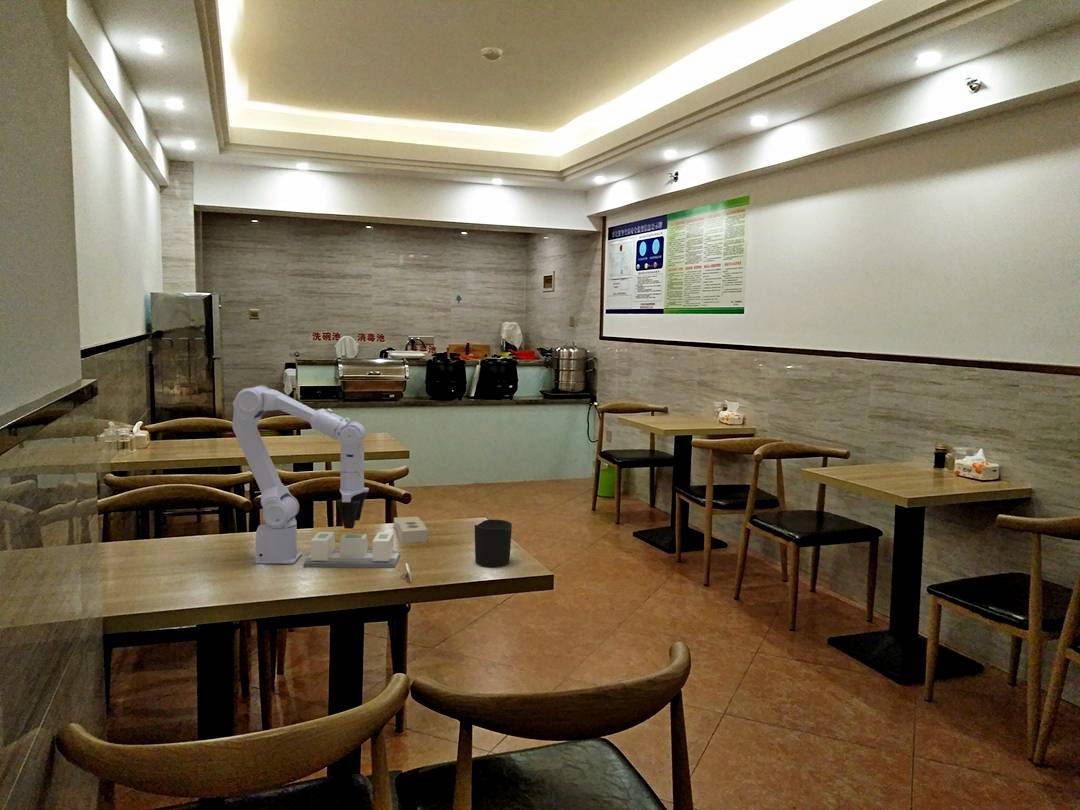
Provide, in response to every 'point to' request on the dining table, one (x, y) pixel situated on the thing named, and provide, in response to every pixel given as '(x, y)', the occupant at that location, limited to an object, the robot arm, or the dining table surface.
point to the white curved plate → (408, 573)
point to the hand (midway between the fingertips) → (352, 524)
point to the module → (353, 545)
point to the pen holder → (493, 543)
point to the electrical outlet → (410, 529)
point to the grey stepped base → (329, 557)
